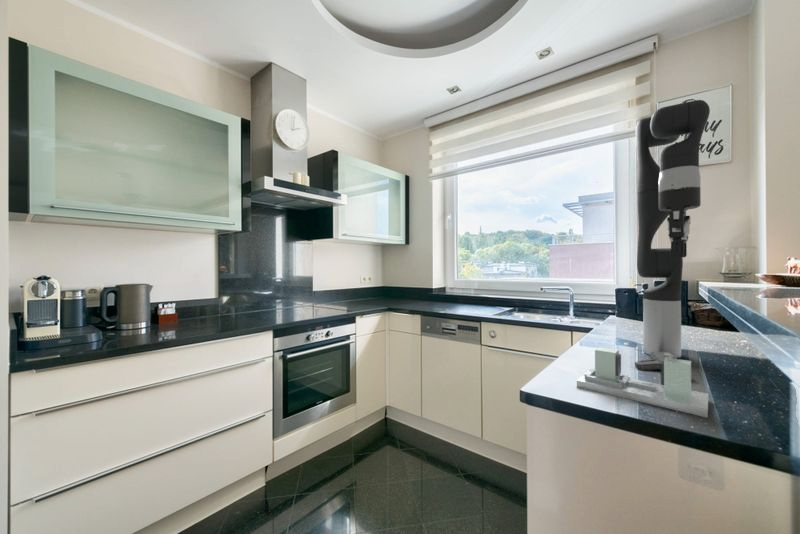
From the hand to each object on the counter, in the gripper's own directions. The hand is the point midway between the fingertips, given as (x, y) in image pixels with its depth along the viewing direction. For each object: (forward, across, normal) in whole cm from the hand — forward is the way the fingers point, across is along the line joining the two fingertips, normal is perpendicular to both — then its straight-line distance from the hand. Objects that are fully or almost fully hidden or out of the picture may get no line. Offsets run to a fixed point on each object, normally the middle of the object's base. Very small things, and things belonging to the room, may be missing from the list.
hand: (679, 257), depth 76 cm
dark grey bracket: (+31, -11, -5) cm, 33 cm away
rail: (+30, +14, -6) cm, 34 cm away
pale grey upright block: (+28, +14, -12) cm, 34 cm away
